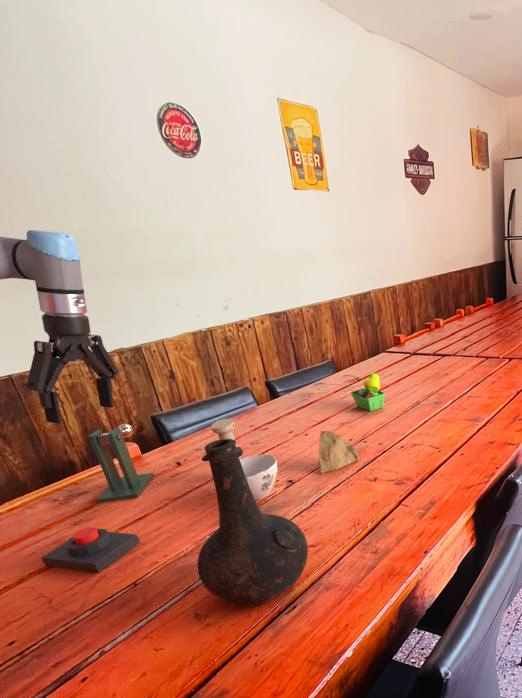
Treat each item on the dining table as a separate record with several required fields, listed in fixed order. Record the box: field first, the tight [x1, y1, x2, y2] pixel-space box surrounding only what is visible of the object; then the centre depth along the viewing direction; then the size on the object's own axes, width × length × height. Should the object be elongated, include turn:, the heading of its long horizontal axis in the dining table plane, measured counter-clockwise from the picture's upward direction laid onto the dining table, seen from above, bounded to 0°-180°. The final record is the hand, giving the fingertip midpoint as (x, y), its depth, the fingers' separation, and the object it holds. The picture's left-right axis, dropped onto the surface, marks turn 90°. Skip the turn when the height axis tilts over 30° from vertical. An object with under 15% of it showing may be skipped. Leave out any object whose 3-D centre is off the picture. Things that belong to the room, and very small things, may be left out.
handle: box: [210, 418, 242, 459], centre depth 129 cm, size 5×6×15 cm
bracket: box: [88, 427, 155, 504], centre depth 125 cm, size 12×9×16 cm
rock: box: [318, 430, 361, 475], centre depth 134 cm, size 11×9×10 cm
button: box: [71, 526, 99, 545], centre depth 101 cm, size 4×4×2 cm
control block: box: [41, 528, 141, 574], centre depth 103 cm, size 13×10×4 cm
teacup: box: [240, 454, 278, 501], centre depth 120 cm, size 15×12×8 cm
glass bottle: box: [197, 439, 309, 606], centre depth 86 cm, size 18×18×28 cm
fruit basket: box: [350, 372, 386, 412], centre depth 175 cm, size 11×9×11 cm
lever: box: [98, 423, 135, 446], centre depth 128 cm, size 13×4×4 cm, turn 13°
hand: (82, 414), depth 112 cm, fingers open, 13 cm apart
